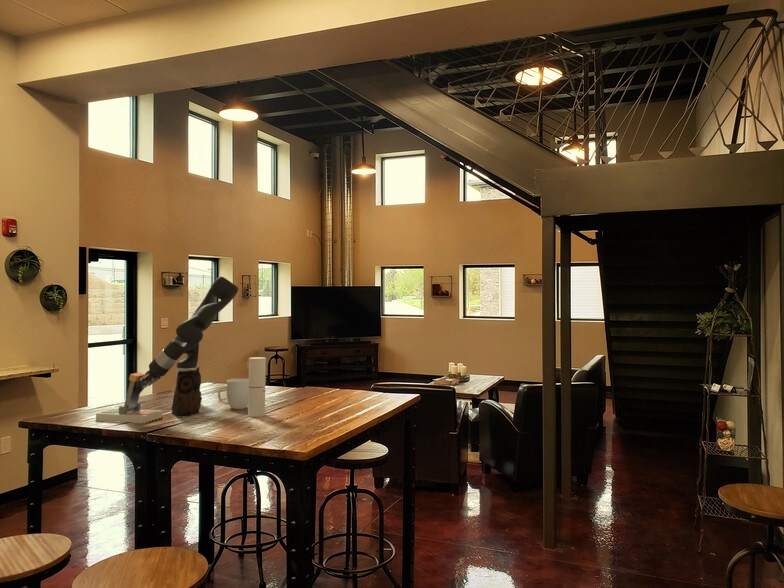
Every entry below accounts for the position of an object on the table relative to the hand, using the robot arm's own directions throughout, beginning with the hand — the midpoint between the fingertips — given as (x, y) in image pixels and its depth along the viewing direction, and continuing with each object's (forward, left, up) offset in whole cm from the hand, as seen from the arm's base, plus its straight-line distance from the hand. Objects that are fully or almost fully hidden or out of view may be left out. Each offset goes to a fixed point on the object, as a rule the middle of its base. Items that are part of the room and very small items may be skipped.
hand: (136, 392), depth 226 cm
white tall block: (-48, +8, -12) cm, 50 cm away
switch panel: (+2, -3, -11) cm, 12 cm away
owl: (-20, -8, -12) cm, 24 cm away
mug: (-43, -13, -12) cm, 46 cm away
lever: (+3, -3, -8) cm, 9 cm away
